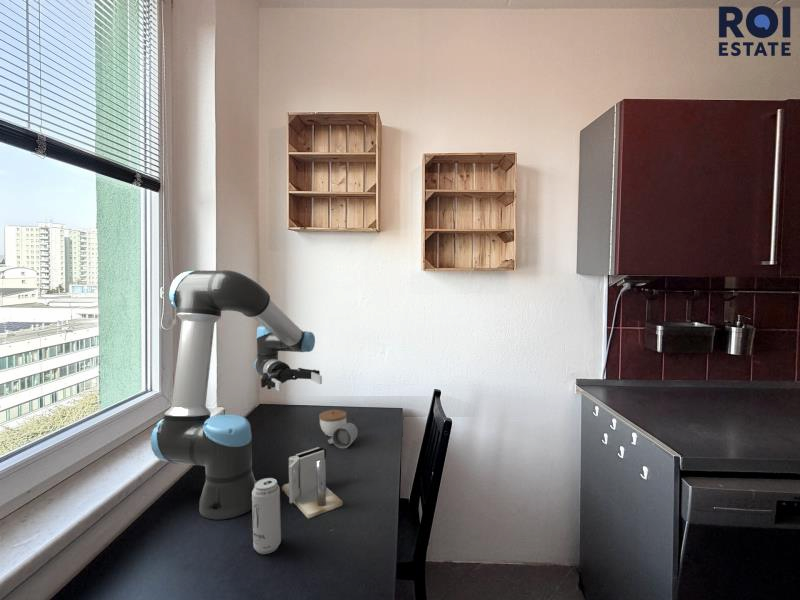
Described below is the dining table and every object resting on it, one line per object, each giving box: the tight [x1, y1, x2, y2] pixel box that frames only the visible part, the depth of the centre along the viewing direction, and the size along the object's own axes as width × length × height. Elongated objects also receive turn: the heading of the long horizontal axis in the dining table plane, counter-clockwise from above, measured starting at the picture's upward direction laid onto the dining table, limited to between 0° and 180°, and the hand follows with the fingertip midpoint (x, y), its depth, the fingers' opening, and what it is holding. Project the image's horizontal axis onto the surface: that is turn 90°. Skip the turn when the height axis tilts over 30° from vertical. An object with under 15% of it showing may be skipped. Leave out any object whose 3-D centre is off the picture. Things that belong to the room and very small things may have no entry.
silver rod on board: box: [283, 458, 333, 506], centre depth 114 cm, size 9×17×12 cm, turn 37°
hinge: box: [288, 446, 327, 504], centre depth 115 cm, size 14×5×10 cm, turn 145°
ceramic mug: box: [327, 422, 359, 449], centre depth 150 cm, size 11×8×8 cm
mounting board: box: [281, 485, 344, 519], centre depth 114 cm, size 10×18×1 cm, turn 37°
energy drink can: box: [251, 477, 282, 555], centre depth 92 cm, size 6×6×15 cm
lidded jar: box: [318, 409, 348, 437], centre depth 161 cm, size 11×11×9 cm
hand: (301, 383), depth 129 cm, fingers open, 13 cm apart
